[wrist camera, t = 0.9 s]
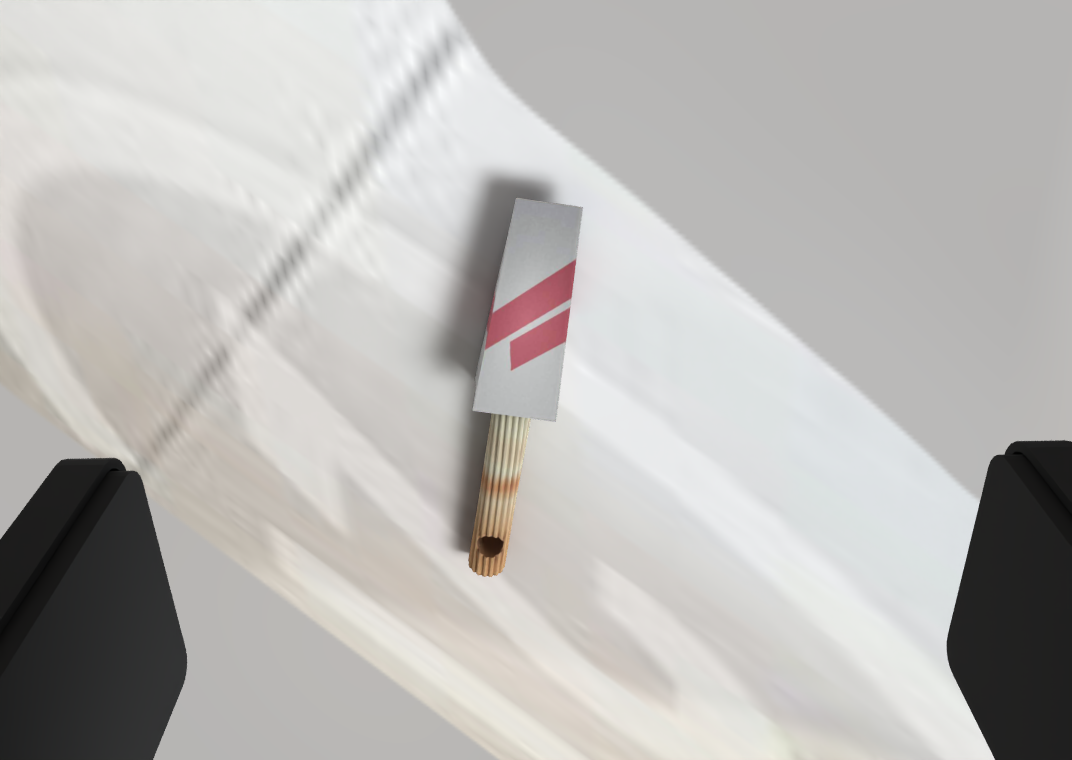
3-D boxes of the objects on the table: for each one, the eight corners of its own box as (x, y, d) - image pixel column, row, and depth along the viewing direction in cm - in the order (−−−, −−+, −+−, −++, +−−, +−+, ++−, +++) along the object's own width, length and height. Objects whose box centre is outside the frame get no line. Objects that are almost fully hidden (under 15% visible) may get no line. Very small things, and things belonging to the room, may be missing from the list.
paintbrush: (597, 223, 40) (520, 588, 50) (594, 198, 42) (521, 552, 53) (503, 208, 40) (444, 578, 50) (505, 183, 42) (448, 542, 52)
